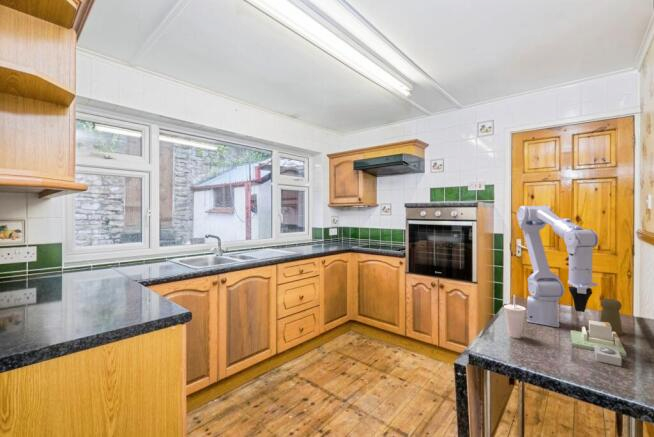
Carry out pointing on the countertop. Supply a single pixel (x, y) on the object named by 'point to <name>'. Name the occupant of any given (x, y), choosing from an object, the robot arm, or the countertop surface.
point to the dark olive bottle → (612, 314)
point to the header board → (595, 341)
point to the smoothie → (514, 319)
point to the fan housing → (607, 355)
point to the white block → (600, 330)
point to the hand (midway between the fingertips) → (579, 310)
